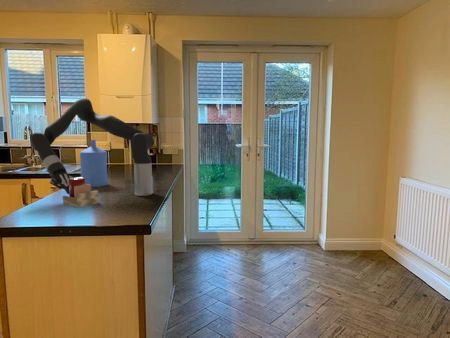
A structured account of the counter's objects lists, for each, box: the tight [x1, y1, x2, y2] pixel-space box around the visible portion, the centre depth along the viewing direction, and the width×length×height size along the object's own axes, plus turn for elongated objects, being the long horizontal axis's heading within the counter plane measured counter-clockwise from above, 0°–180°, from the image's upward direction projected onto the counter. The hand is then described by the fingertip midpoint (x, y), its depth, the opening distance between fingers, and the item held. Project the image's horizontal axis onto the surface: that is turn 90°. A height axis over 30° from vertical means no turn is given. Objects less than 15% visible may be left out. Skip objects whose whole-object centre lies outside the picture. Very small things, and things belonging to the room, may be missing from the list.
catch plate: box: [74, 184, 92, 198], centre depth 154 cm, size 8×1×9 cm, turn 151°
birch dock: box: [62, 189, 100, 208], centre depth 156 cm, size 11×11×6 cm
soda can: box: [68, 176, 86, 197], centre depth 156 cm, size 7×7×12 cm
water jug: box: [79, 139, 109, 188], centre depth 202 cm, size 16×16×28 cm
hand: (71, 193), depth 158 cm, fingers closed
